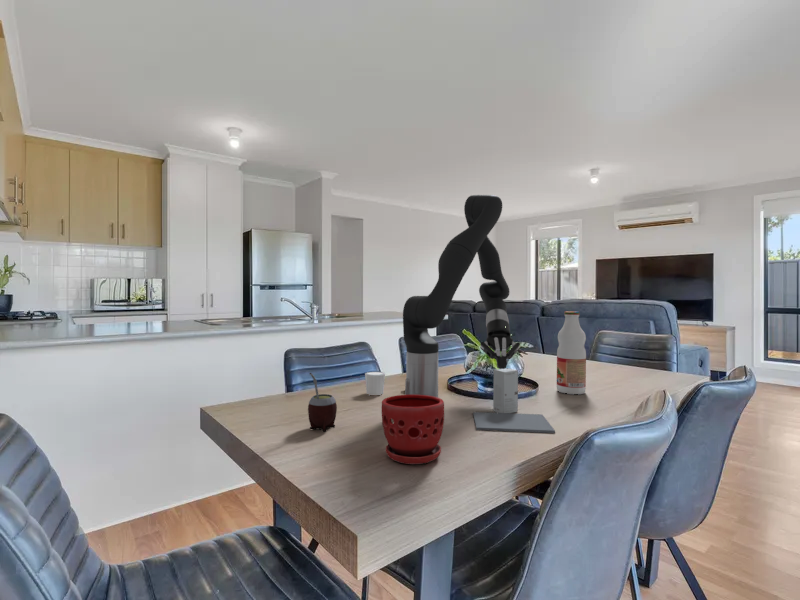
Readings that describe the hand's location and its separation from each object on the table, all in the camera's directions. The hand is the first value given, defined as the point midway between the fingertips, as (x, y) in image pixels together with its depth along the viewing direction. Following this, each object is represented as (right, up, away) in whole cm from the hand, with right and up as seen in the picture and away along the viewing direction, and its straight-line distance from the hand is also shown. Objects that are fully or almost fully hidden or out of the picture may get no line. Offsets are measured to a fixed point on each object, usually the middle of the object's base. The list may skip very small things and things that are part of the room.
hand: (502, 368), depth 132 cm
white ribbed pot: (-40, -11, +12) cm, 43 cm away
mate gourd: (-51, -11, -25) cm, 58 cm away
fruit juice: (+28, -11, +17) cm, 35 cm away
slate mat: (-2, -11, -19) cm, 22 cm away
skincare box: (-1, -11, -8) cm, 14 cm away
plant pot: (-29, -12, -42) cm, 52 cm away
